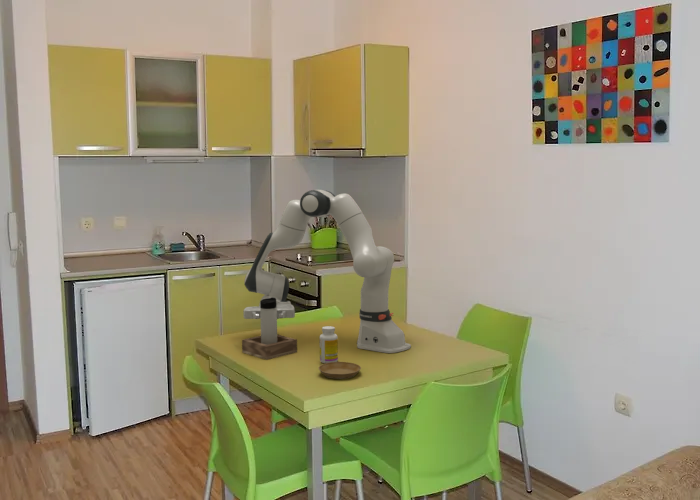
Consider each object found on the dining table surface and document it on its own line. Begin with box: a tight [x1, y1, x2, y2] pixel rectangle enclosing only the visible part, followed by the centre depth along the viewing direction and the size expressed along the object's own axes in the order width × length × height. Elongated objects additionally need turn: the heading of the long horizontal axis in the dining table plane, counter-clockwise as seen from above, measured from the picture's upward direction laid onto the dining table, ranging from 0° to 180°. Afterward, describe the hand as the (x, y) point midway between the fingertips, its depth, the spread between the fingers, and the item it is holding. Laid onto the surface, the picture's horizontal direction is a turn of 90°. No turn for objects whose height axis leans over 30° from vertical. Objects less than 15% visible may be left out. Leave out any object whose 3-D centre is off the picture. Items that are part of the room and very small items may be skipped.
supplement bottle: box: [319, 325, 339, 364], centre depth 264 cm, size 7×7×13 cm
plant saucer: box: [318, 361, 362, 380], centre depth 250 cm, size 15×15×3 cm
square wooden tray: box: [241, 333, 298, 360], centre depth 278 cm, size 15×15×5 cm
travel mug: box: [259, 297, 278, 345], centre depth 277 cm, size 6×7×20 cm
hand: (268, 316), depth 279 cm, fingers open, 8 cm apart
